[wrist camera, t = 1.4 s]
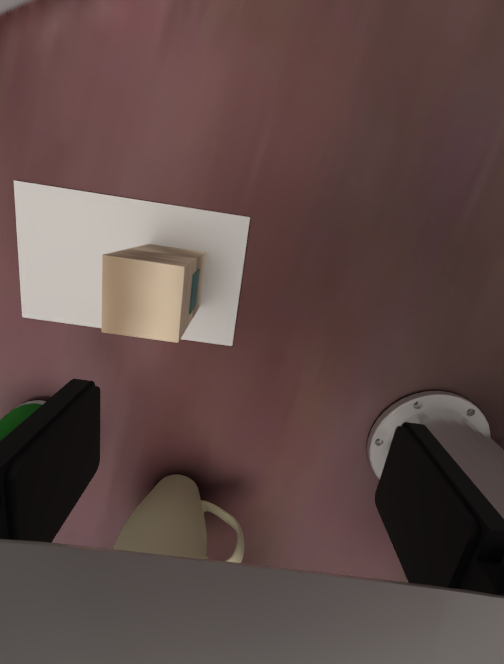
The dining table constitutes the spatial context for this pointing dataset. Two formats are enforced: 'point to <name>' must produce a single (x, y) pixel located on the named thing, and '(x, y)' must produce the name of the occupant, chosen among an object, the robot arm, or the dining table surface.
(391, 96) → the dining table surface
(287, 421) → the dining table surface
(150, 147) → the dining table surface
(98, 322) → the felt mat
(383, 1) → the dining table surface
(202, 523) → the mug
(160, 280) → the maple block
